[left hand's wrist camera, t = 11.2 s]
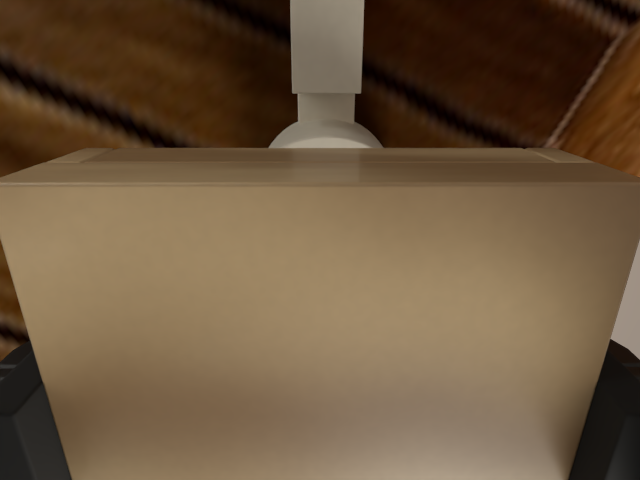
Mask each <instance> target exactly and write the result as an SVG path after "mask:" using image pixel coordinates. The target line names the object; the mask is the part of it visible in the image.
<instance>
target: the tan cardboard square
mask: <svg viewBox="0 0 640 480" xmlns="http://www.w3.org/2000/svg"><path fill="white" fill-rule="evenodd" d="M0 239H1V242H2V246H3V249H4V252H5V256H6V259H7V263H8V266H9V269H10V273H11V276H12V280H13V283H14V286H15V290H16V293H17V297H18V300H19V303H20V307H21V310H22V313H23V317H24V320H25V324H26V327H27V330H28V334H29V337H30V341H31V344H32V347H33V351H34V354H35V358H36V361H37V364H38V368H39V371H40V375H41V378H42V381H43V385H44V388H45V391H46V395H47V398H48V402H49V405H50V408H51V412H52V415H53V419H54V422H55V425H56V429H57V432H58V436H59V439H60V442H61V446H62V449H63V453H64V456H65V459H66V463H67V466H68V469H69V473H70V476H71V480H569V477H570V473H571V470H572V467H573V463H574V460H575V456H576V453H577V450H578V446H579V443H580V440H581V436H582V433H583V429H584V426H585V423H586V419H587V416H588V412H589V409H590V406H591V402H592V399H593V396H594V392H595V389H596V385H597V382H598V379H599V375H600V372H601V368H602V365H603V362H604V358H605V355H606V351H607V348H608V345H609V341H610V338H611V334H612V331H613V328H614V324H615V321H616V318H617V314H618V311H619V307H620V304H621V301H622V297H623V294H624V290H625V287H626V284H627V280H628V277H629V273H630V270H631V267H632V263H633V260H634V256H635V253H636V250H637V246H638V243H639V240H640V178H639V177H636V176H633V175H631V174H628V173H625V172H622V171H619V170H616V169H613V168H611V167H608V166H605V165H602V164H599V163H594V162H593V161H590V160H587V159H584V158H582V157H579V156H576V155H573V154H570V153H567V152H564V151H562V150H559V149H556V148H527V149H525V150H524V149H522V148H118V149H116V150H115V149H112V148H85V149H82V150H79V151H76V152H74V153H71V154H68V155H65V156H62V157H59V158H57V159H54V160H51V161H48V162H46V163H41V164H38V165H36V166H33V167H30V168H27V169H24V170H21V171H18V172H16V173H13V174H10V175H7V176H4V177H1V178H0Z"/></svg>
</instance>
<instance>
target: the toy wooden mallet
mask: <svg viewBox="0 0 640 480" xmlns="http://www.w3.org/2000/svg"><path fill="white" fill-rule="evenodd" d="M290 15H291V59H292V93H293V94H298V122H296V123H294V124H292V125H290V126H289V127H287V128H286V129H285V130H283V131H282V132H281V133H280V134H279V135H278V136H277V137H276V138H275V140H274V141H273V142H272V143H271V145H270V146H269V148H383V146H382V145H381V144H380V142H379V141H378V140H377V139H376V137H375V136H374V135H373V134H372V133H371V132H370V131H368V130H367V129H366V128H364V127H363V126H362V125H360V124H358V123H356V122H354V108H355V94H360V93H361V81H362V51H363V21H364V0H290Z"/></svg>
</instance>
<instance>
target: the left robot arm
mask: <svg viewBox="0 0 640 480" xmlns="http://www.w3.org/2000/svg"><path fill="white" fill-rule="evenodd" d="M0 480H71V476H70V473H69V469H68V466H67V463H66V459H65V456H64V453H63V449H62V446H61V442H60V439H59V436H58V432H57V429H56V425H55V422H54V419H53V415H52V412H51V408H50V405H49V402H48V398H47V395H46V391H45V388H44V385H43V381H42V378H41V375H40V371H39V368H38V364H37V361H36V358H35V354H34V351H33V347H32V344H31V341H28V342H27V343H25V344H23V345H21V346H20V347H18V348H16V349H14V350H13V351H12V352H11V353H10V354H9V355H7V356H6V357H5V358H4V359H3V360H2V361H1V362H0ZM569 480H640V360H639V359H638V358H637V357H636V356H635V355H634V354H633V353H632V352H631V351H630V350H628V349H627V348H625V347H624V346H622V345H620V344H618V343H617V342H615V341H613V340H611V339H610V341H609V345H608V348H607V351H606V355H605V358H604V362H603V365H602V368H601V372H600V375H599V379H598V382H597V385H596V389H595V392H594V396H593V399H592V402H591V406H590V409H589V412H588V416H587V419H586V423H585V426H584V429H583V433H582V436H581V440H580V443H579V446H578V450H577V453H576V456H575V460H574V463H573V467H572V470H571V473H570V477H569Z"/></svg>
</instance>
